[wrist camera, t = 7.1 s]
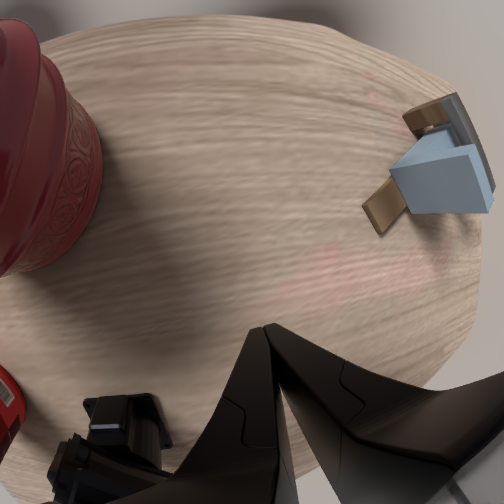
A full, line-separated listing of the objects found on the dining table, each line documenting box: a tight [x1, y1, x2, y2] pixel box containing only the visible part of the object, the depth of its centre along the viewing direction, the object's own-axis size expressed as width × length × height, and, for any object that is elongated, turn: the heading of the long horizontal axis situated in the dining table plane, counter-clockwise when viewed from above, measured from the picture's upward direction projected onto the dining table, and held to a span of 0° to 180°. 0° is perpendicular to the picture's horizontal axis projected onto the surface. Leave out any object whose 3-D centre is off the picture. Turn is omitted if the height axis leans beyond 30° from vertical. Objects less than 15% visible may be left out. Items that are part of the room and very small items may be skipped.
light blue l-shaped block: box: [389, 123, 494, 214], centre depth 19 cm, size 10×5×9 cm, turn 128°
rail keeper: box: [362, 92, 496, 233], centre depth 21 cm, size 18×11×7 cm, turn 128°
